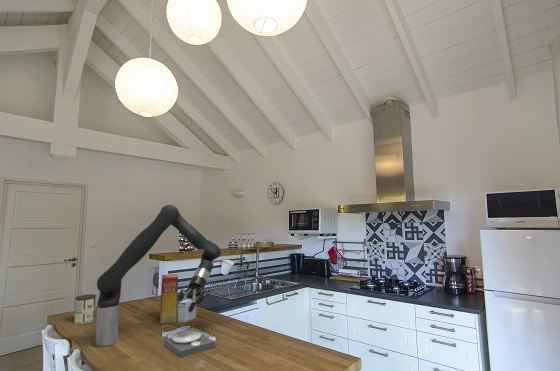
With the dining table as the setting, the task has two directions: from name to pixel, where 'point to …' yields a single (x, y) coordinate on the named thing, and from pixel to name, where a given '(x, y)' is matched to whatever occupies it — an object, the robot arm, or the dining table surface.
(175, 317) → the food packaging
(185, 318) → the medicine box
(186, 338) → the kitchen scale
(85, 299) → the coffee can
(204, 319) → the dining table surface
